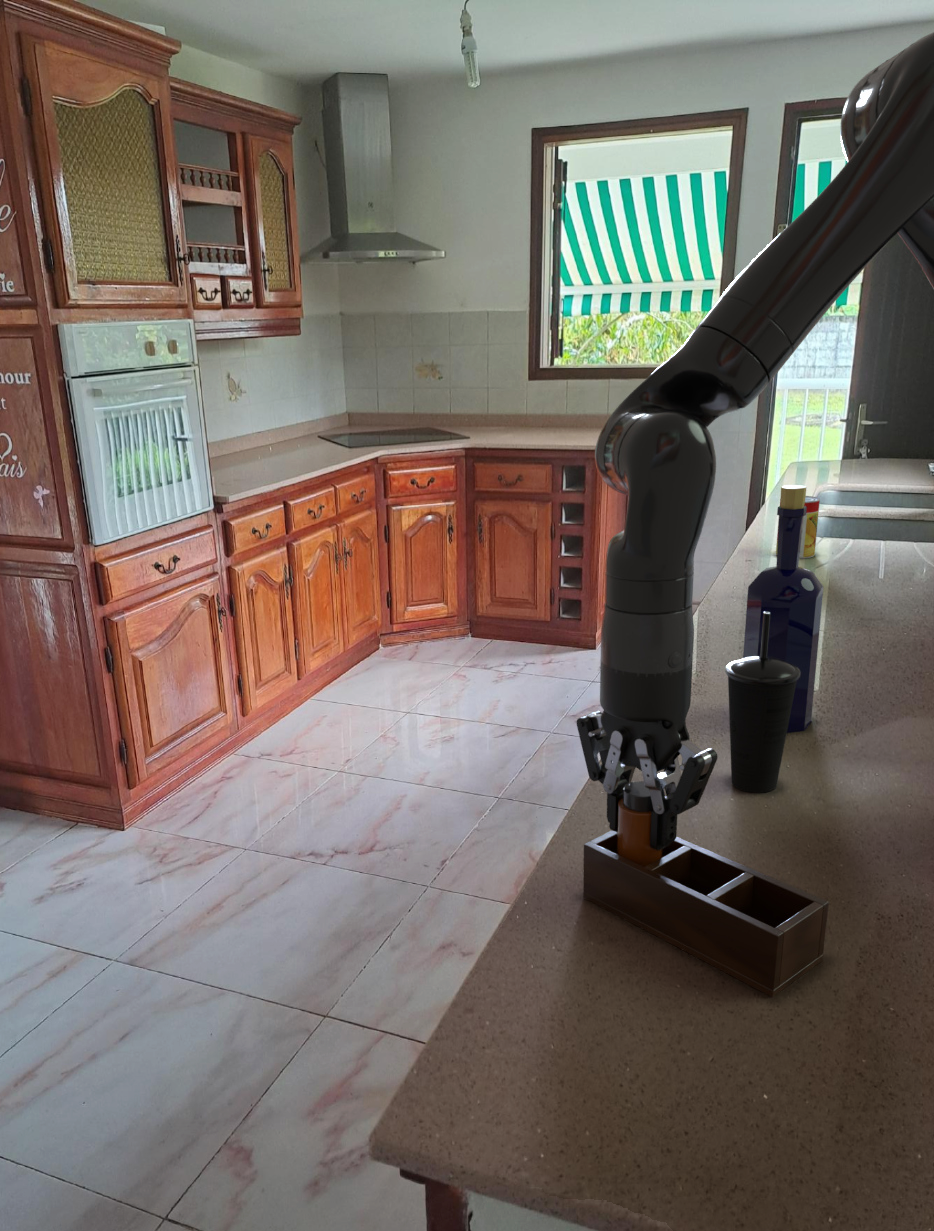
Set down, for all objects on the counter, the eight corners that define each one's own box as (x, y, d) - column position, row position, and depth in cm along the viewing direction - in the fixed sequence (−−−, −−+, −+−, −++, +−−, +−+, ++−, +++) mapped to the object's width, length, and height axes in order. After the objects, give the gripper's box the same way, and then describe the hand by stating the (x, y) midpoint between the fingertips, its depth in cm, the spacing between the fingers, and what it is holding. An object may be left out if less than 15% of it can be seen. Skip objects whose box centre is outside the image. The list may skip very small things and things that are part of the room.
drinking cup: (761, 764, 116) (774, 599, 109) (804, 791, 110) (821, 616, 103) (704, 776, 114) (714, 608, 107) (745, 803, 108) (758, 626, 101)
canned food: (815, 551, 216) (820, 496, 212) (813, 559, 209) (818, 502, 205) (777, 550, 219) (781, 495, 215) (773, 557, 212) (778, 501, 208)
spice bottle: (635, 871, 93) (638, 775, 90) (670, 888, 90) (674, 788, 87) (606, 886, 91) (609, 788, 88) (641, 904, 88) (645, 803, 85)
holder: (633, 870, 96) (634, 818, 94) (822, 960, 81) (829, 901, 79) (582, 897, 92) (583, 844, 90) (772, 997, 77) (778, 936, 75)
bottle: (806, 708, 132) (828, 480, 122) (818, 734, 124) (842, 492, 113) (734, 706, 134) (749, 481, 124) (741, 732, 126) (757, 494, 115)
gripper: (747, 663, 80) (733, 851, 86) (611, 629, 90) (607, 798, 96) (688, 686, 76) (678, 882, 82) (553, 647, 86) (553, 824, 92)
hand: (640, 836), depth 89 cm, fingers closed on spice bottle, 4 cm apart
